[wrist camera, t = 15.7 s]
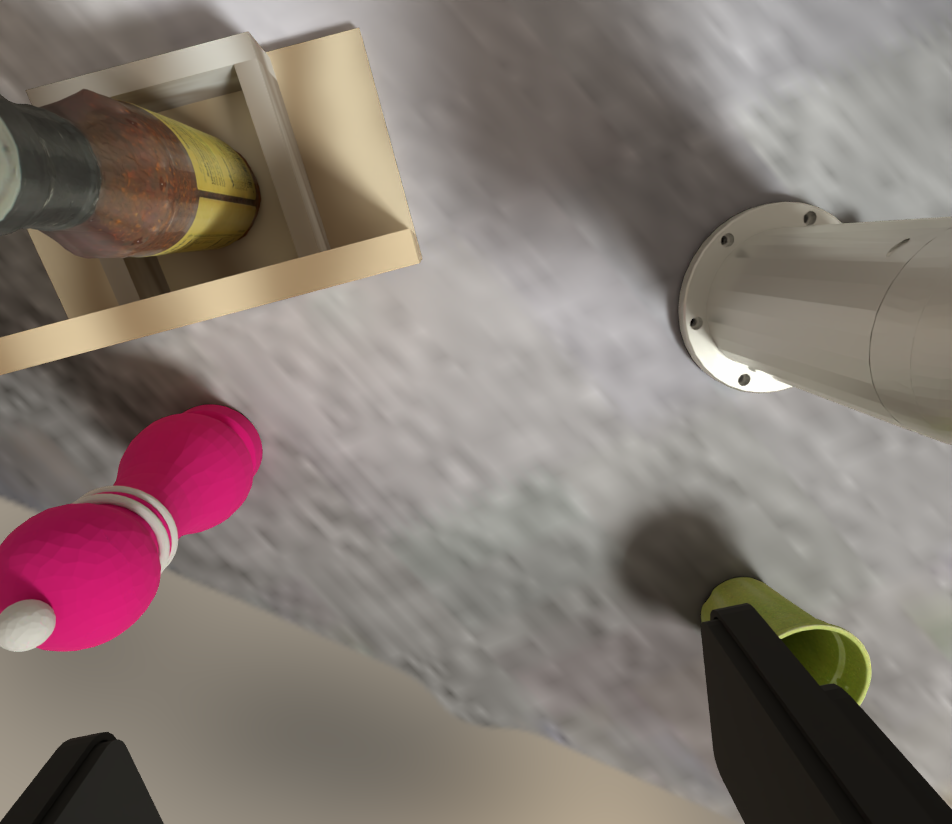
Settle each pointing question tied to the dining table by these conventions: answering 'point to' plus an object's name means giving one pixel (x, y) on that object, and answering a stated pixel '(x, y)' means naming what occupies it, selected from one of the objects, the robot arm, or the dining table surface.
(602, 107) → the dining table surface
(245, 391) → the dining table surface
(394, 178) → the condiment rack
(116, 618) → the pepper mill
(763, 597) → the plant pot
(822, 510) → the dining table surface
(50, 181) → the sauce bottle
